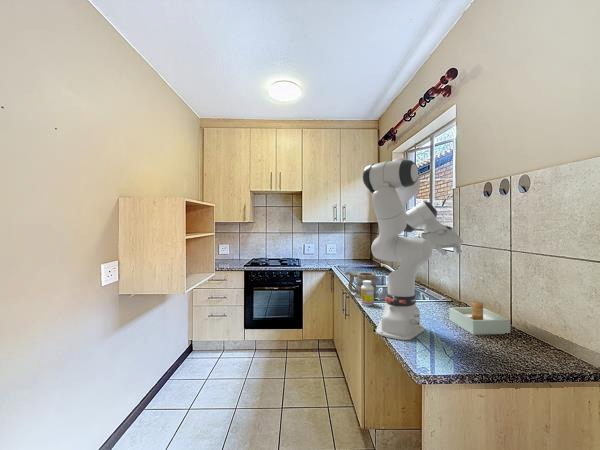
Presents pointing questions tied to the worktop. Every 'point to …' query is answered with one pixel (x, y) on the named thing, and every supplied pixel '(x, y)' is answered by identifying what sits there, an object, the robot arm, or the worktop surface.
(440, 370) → the worktop surface
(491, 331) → the bore box
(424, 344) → the worktop surface
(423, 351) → the worktop surface
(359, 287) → the tankard
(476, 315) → the peg
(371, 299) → the supplement bottle
